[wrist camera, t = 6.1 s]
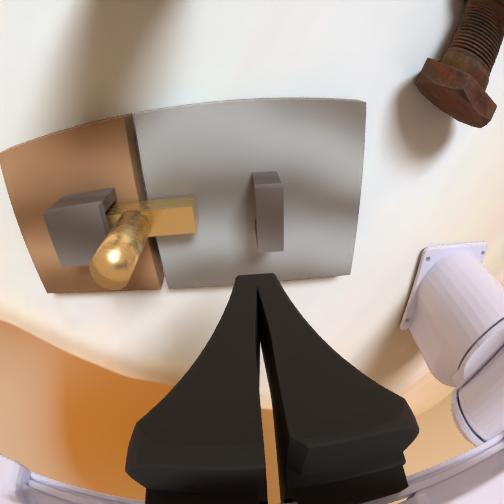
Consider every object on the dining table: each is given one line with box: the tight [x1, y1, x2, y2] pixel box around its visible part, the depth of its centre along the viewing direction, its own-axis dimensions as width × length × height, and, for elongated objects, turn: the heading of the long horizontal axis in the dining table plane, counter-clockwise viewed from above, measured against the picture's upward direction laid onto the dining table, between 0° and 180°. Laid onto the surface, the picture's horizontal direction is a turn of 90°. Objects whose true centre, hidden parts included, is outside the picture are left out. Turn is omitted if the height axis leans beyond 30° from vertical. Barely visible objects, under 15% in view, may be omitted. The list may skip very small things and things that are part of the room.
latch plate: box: [0, 98, 366, 293], centre depth 17 cm, size 12×24×4 cm, turn 93°
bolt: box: [416, 0, 504, 128], centre depth 11 cm, size 6×5×15 cm
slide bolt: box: [89, 195, 199, 290], centre depth 15 cm, size 2×9×6 cm, turn 93°
